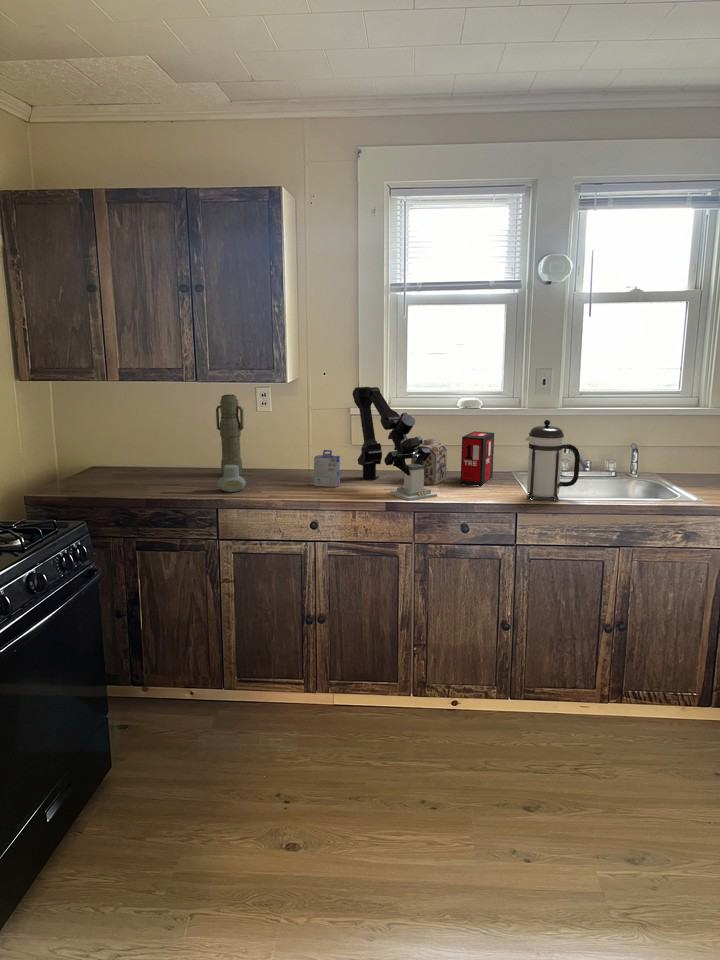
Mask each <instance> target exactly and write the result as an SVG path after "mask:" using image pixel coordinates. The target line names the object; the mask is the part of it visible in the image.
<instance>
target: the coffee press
mask: <svg viewBox="0 0 720 960" xmlns="http://www.w3.org/2000/svg"><path fill="white" fill-rule="evenodd" d="M543 424H544V425H537V426H534V427H532V429H531V430H530V432H528V434H527V436H526V437H525V439H524V441H527V442H528V464H527V466H528V467H527V485H526V492H527V493H526V494H528V493H529V494H528V496H527V500H528V499H530V498H531V499H532V500H534V498H536V497H538V498H550V499H552V500H554V499H556V500H559V501H560V499H559V496H558V495H559V493H560V488H561V487H571V486H572V487H573V486H574V485H575V484H576V483H577V481H578V479H579V474H580V473H579V472H580V461H581V459H580V458H581V457H580V452H579V449H578V448H577V446H575V445H573V444H571V443H570V444H569V443H567V444H563V442H564V440H563V439H564V437H565V434H564V432H563V430H562V429H561V428H560V427H558V426H553V425H551V420H549V419H546V420H544V421H543ZM563 449H565V450H570V451H572V452H573V454H574V464H573V476H572V478H571V480H570V481H561V470H562V459H563V457H562V455H563Z"/></svg>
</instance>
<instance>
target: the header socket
mask: <svg viewBox="0 0 720 960" xmlns="http://www.w3.org/2000/svg"><path fill="white" fill-rule="evenodd" d="M390 495H392V496H393V495H394V496H396V497H398V498H401V499H402V500H403V499H404V500H406V501H407V502H408V501H409V502H410V501H415V500H417V501H418V500H422V499H430V498H437V497H438V493H435V492H432V489H429V488H428V487H427V488H426V487H424V490H422V491H414V492H410V491H407V490H404V486H400V487H396V490H391V491H390Z"/></svg>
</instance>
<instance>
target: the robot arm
mask: <svg viewBox="0 0 720 960" xmlns="http://www.w3.org/2000/svg"><path fill="white" fill-rule="evenodd" d="M352 398H353V402H354V404H355V405H356V406H357V408H358V410H359V417H360V422H361V429H362V430H361V431H362V436H363V437H362V438H363V443H362V446H361V453H360V455H359V456H358V458H357V464H358V465H360V466H362V476H361V477H359V479H360V480H367V481H369V480H370V481H375V480H377V479H379V478H380V476H378V475H377V465H381V463H382V458H383V450H382V445H381V443H380V442H378V441H377V440H376V436H375V428H374V422H373V414H372V405H373V406H374V408H375V409H376V411H377V412H378V414H379V415H380V420H379V421H380V423H381V426H382V427H383V429H384V430H385V431H386V430H387V431H389V430H391V431H390V432H389V434H388V437H387V439H388V440H391V441H392V442H393V445H394V448H393V449H394V451H388V453H386V456H385V457H384V459H383V460H384V464H385V466H393V467H396V468H397V469H399V470H401V472H403V474H404V473H405V474H407V475H408V476H410V472H409V469H408V467H407V463H406V460H408V459H409V460H411V458H414V460H415V462H414V464H419V465H423V461H425V460H426V459H427V458H428V457H429V455H430V454H431V451H430V449H429V448H422V449H419V451H418V452H417V453H414V452H413V451H415V450H416V447H417V446H420V444H422V443H423V442H424V440H423V438H422V437H421V435H417V436H414V437H409V438H408V437H407V435H409V433H410V432H411V430H413V427H414V426H415V425H416V419H415V418H414V417H413V416H411V415H410V414H408V413H407V412H402V413H401V415H400V414H398V412H397V411H395V410H394V409H392V408H391V407H390V405H389V403H388V402H387V400H386V399H385V398H384V396H383V394H382V393H381V389H380V388H379V387H377V386H374V387H373V386H371V387H370V386H359V387H357V386H356V387H355V388H354V389H353V391H352Z"/></svg>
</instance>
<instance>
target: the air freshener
mask: <svg viewBox="0 0 720 960" xmlns="http://www.w3.org/2000/svg"><path fill="white" fill-rule="evenodd" d="M246 484H247V481H246V479H245V478H244V477H242V475H241V476H239V466H238V465H226V466H224V476H221V477H220V478H219V479H218V482H217V486H218V488H219V489H220V490H221V491H224V492H225V493H226V492H227V493H237V492H239V491H241V490H242V489H244V488H245V487H246Z"/></svg>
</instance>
